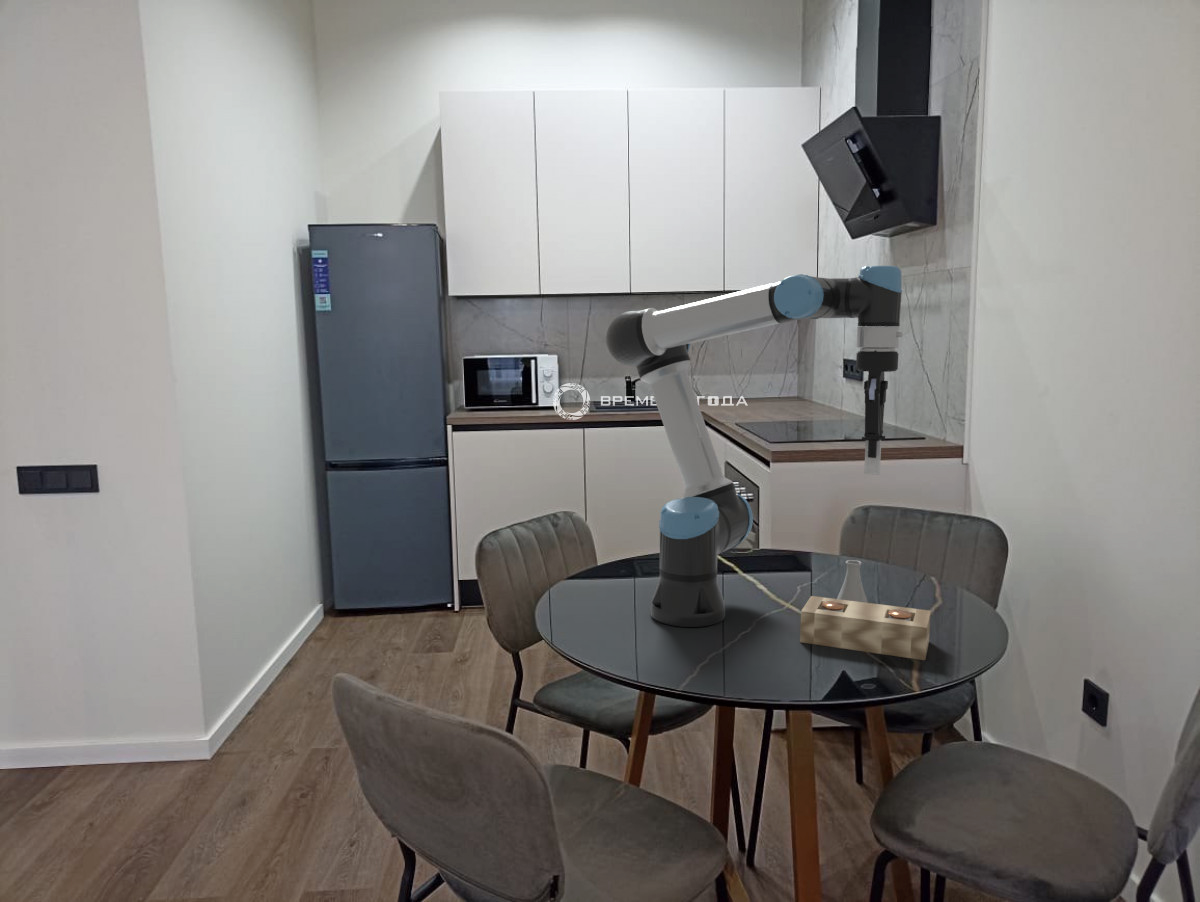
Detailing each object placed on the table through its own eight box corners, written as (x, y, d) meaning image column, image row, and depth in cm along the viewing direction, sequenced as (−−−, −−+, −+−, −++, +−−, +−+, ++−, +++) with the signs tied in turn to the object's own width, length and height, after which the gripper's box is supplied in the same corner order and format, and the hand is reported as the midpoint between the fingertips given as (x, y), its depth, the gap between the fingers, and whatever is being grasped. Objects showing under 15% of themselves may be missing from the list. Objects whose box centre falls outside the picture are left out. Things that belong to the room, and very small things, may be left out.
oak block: (800, 642, 162) (801, 611, 161) (810, 625, 171) (811, 595, 170) (925, 660, 153) (927, 627, 152) (928, 641, 162) (930, 610, 161)
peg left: (819, 635, 164) (820, 606, 163) (823, 629, 167) (824, 600, 166) (841, 638, 162) (842, 609, 161) (844, 632, 166) (845, 602, 165)
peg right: (885, 645, 159) (887, 614, 158) (888, 638, 162) (889, 608, 161) (908, 648, 157) (910, 617, 156) (910, 641, 161) (912, 611, 160)
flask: (871, 615, 177) (873, 567, 176) (834, 612, 179) (836, 565, 177) (868, 604, 184) (870, 558, 183) (832, 601, 186) (834, 556, 184)
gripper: (895, 351, 155) (888, 480, 159) (901, 349, 167) (895, 469, 171) (851, 350, 158) (846, 477, 162) (861, 348, 170) (856, 467, 174)
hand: (872, 473), depth 166 cm, fingers closed
